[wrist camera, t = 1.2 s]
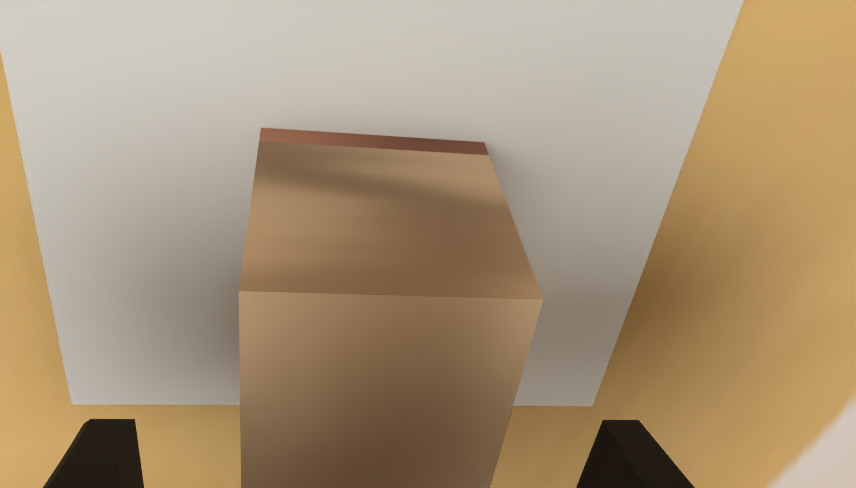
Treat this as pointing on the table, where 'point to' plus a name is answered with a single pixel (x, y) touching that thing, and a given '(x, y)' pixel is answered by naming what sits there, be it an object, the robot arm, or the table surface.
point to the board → (342, 113)
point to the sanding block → (379, 313)
